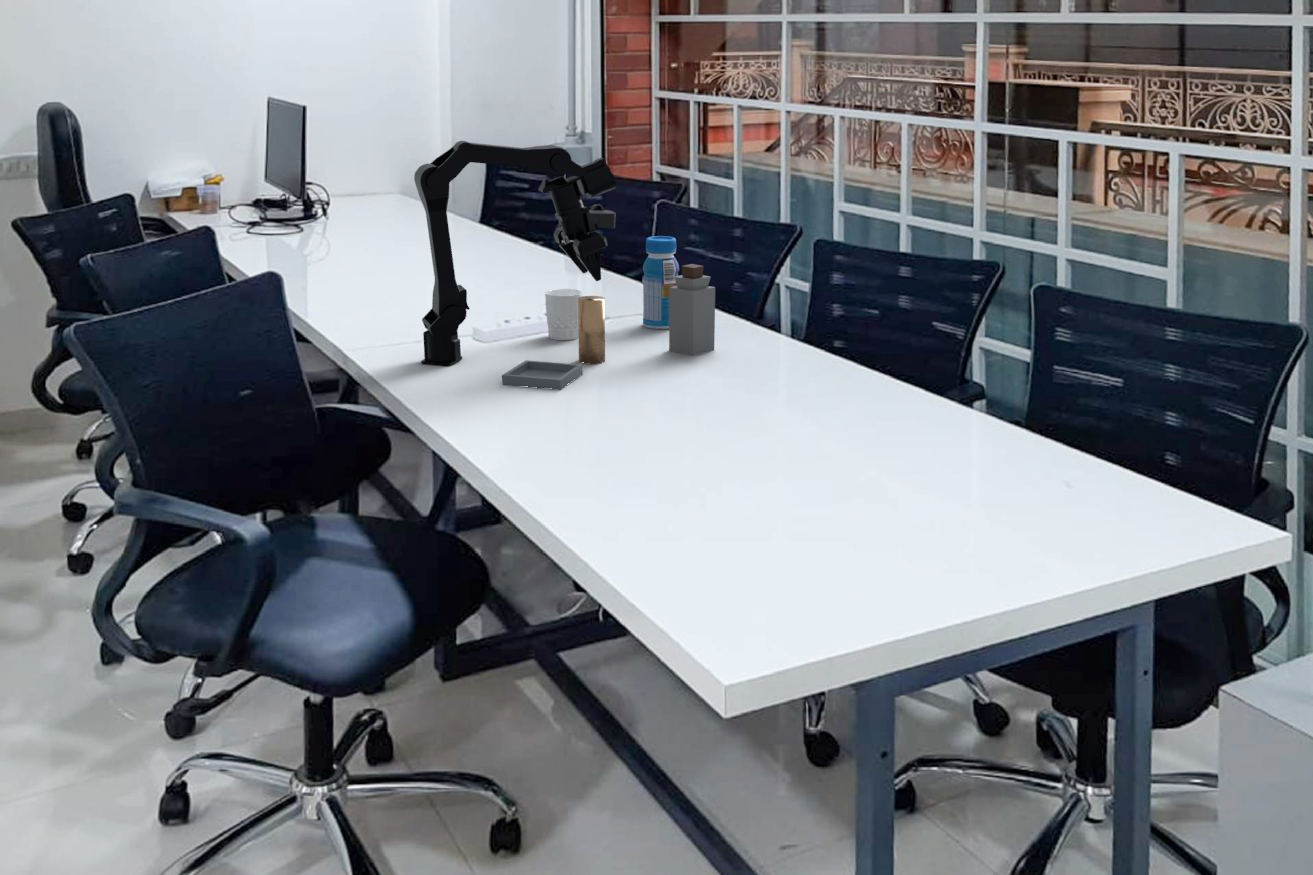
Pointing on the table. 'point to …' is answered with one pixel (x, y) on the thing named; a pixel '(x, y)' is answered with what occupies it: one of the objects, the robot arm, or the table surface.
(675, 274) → the beverage bottle
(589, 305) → the can
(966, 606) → the table surface
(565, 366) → the tray
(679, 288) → the perfume bottle
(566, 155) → the robot arm
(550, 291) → the white cup
